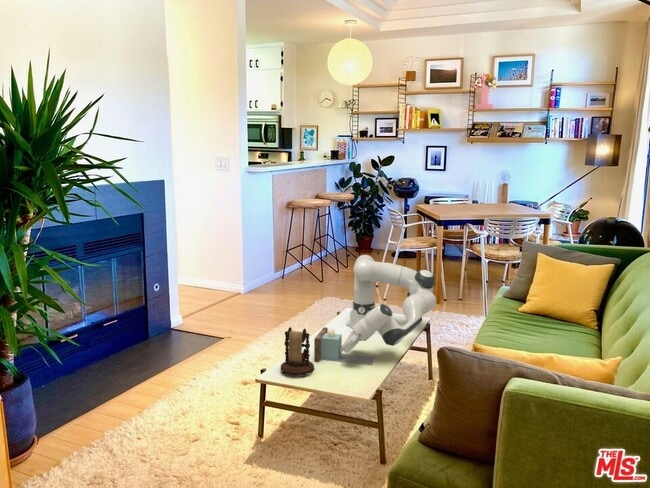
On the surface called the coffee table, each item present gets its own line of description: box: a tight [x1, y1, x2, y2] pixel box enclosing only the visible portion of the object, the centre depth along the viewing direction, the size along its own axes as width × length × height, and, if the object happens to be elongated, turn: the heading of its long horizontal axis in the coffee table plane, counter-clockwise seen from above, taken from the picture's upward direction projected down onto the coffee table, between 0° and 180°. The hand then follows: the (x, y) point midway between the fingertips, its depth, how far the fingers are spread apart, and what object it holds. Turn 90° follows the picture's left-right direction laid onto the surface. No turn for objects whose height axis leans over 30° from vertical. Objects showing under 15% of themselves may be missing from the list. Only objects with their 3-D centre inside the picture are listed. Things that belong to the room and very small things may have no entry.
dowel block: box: [321, 328, 343, 360], centre depth 251 cm, size 7×8×13 cm
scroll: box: [280, 327, 315, 378], centre depth 236 cm, size 15×15×20 cm
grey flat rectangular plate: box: [320, 352, 376, 366], centre depth 250 cm, size 10×24×1 cm, turn 75°
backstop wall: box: [313, 327, 329, 363], centre depth 253 cm, size 16×2×12 cm, turn 165°
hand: (341, 349), depth 250 cm, fingers closed, pressing on dowel block
